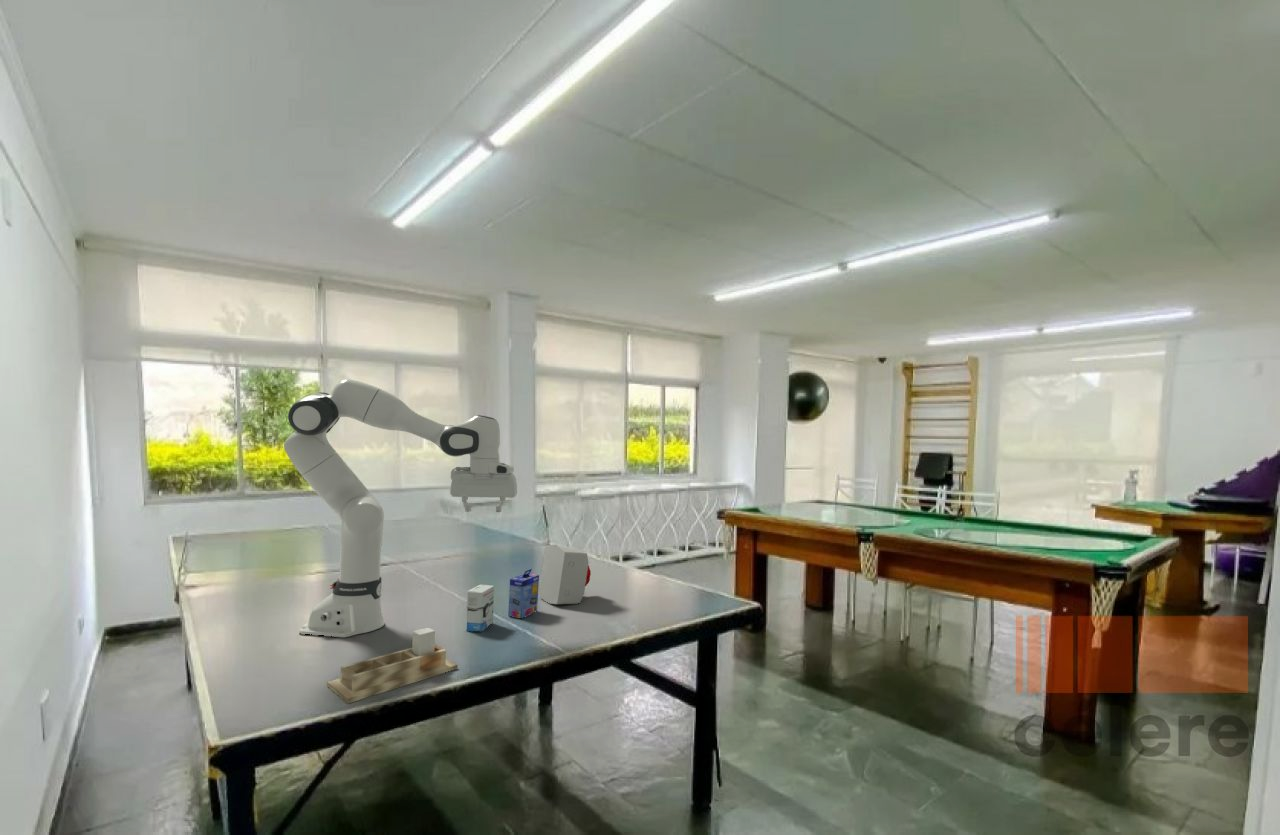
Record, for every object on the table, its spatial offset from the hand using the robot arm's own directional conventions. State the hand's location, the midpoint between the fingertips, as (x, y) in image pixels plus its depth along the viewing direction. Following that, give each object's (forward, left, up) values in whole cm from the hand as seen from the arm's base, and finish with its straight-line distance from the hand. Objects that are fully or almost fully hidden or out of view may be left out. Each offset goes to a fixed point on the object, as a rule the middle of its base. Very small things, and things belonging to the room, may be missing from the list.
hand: (483, 511), depth 180 cm
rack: (-11, -41, -34) cm, 54 cm away
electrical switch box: (+25, +25, -34) cm, 49 cm away
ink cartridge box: (+12, +8, -34) cm, 37 cm away
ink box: (+1, -5, -34) cm, 35 cm away
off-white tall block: (-6, -36, -33) cm, 49 cm away
